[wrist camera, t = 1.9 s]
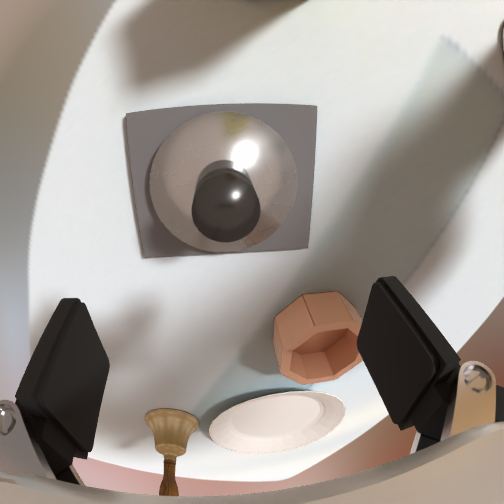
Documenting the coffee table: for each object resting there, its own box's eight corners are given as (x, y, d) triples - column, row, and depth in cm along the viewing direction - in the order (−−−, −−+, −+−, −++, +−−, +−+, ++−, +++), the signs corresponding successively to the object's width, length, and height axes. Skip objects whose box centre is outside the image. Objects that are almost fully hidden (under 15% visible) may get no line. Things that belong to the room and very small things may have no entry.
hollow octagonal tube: (360, 288, 30) (378, 316, 26) (344, 347, 34) (356, 375, 30) (275, 296, 29) (285, 328, 25) (271, 357, 33) (278, 388, 29)
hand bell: (145, 428, 40) (140, 515, 26) (144, 404, 36) (136, 506, 22) (195, 434, 42) (199, 521, 28) (202, 411, 38) (207, 513, 24)
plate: (214, 377, 35) (215, 391, 33) (363, 374, 38) (368, 386, 37) (204, 443, 44) (204, 453, 42) (315, 439, 48) (318, 448, 46)
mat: (314, 105, 21) (317, 106, 20) (306, 244, 26) (307, 248, 26) (128, 113, 19) (125, 113, 19) (146, 254, 25) (144, 257, 25)
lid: (297, 111, 20) (324, 117, 15) (291, 244, 26) (309, 283, 21) (145, 117, 19) (122, 125, 14) (160, 251, 24) (148, 293, 19)
